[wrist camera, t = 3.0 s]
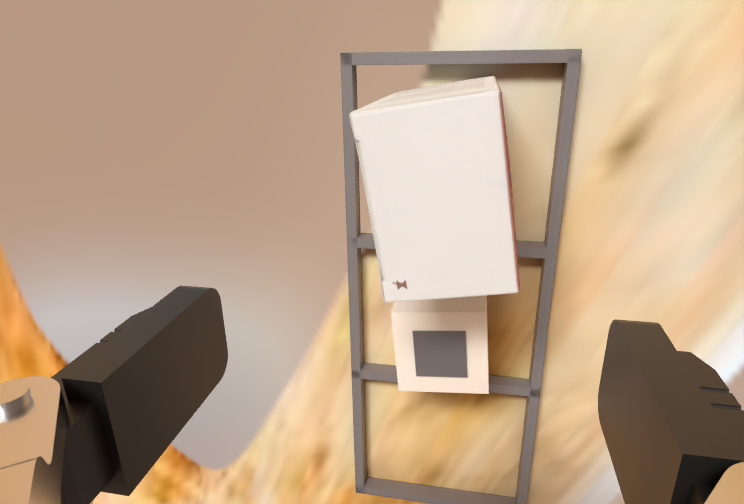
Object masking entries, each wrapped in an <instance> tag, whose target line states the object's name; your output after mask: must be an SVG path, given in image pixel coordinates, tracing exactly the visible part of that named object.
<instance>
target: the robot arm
mask: <svg viewBox="0 0 744 504" xmlns="http://www.w3.org/2000/svg"><path fill="white" fill-rule="evenodd" d="M227 359H228V350H227V342H226V335H225V328H224V320H223V313H222V305H221V299H220V295H219V293H218V291H217V290H216V289H214V288H205V287H192V286H191V287H190V286H179V287H177V288H176V289H175V290H173V291H172V292H171V293H169V294H168V295H167V296H165V297H164V298H163V299H162V300H160V301H159V302H158V303H157V304H155V305H154V306H153V307H151V308H149V309H146V310H144V311H142V312H140V313H138V314H135V315H133V316H131V317H130V318H129V319H127V320H126V321H125V322H123V323H122V324H121V325H119V326H118V327H117V328H115V331H114V332H110V333H109V334H108V335H106V336H105V337H104V338H102V339H101V340H100V343H96V344H95V345H93V346H92V347H91V348H89V349H88V350H87V351H85V352H84V353H83V354H82V355H80V356H79V357H77V358H76V359H75V360H74V361H72V362H71V363H70V364H68V365H67V366H66V367H64V368H63V369H62V370H60V371H59V372H58V373H57V374H55V375H54V376H53V377H51V378H49V377H42V376H32V377H24V378H19V379H14V380H11V381H7V382H4V383H1V384H0V504H93V502H92V501H93V500H94V498H95V497H96V496H97V495H98V494H99V493H100V492H107V493H114V494H120V495H126V496H129V495H130V494H131V493H132V491H133V490H134V489H135V488H136V486H137V485H138V484H139V483H140V481H141V480H142V479H143V478H144V476H145V475H146V474H147V473H148V471H149V470H150V469H151V467H152V466H153V465H154V464H155V462H156V461H157V460H158V459H159V457H160V456H161V455H162V454H163V452H164V451H165V450H166V449H167V447H168V446H169V445H170V443H171V442H172V441H173V440H174V438H175V437H176V436H177V435H178V433H179V432H180V431H181V430H182V428H183V427H184V426H185V424H186V423H187V422H188V420H189V419H190V418H191V417H192V416H193V414H194V413H195V412H196V411H197V409H198V408H199V407H200V406H201V404H202V403H203V402H204V400H205V399H206V398H207V397H208V395H209V394H210V393H211V392H212V390H213V389H214V388H215V387H216V385H217V384H218V383H219V381H220V380H221V378H222V377H223V375H224V372H225V369H226V365H227ZM598 412H599V420H600V424H601V427H602V431H603V434H604V437H605V440H606V444H607V447H608V450H609V453H610V456H611V460H612V463H613V466H614V469H615V473H616V476H617V479H618V482H619V486H620V489H621V492H622V495H623V499H624V502H625V504H744V411H742V410H741V405H740V404H739V403H738V401H737V400H736V398H735V397H734V396H733V394H732V393H729V389H728V387H727V386H726V385H725V383H724V382H723V380H722V379H721V378H720V376H719V375H718V373H717V372H716V371H715V369H713V368H712V367H710V366H709V365H708V364H706V363H705V362H703V361H702V360H701V359H699V358H698V357H696V356H695V355H694V354H692V353H691V352H683V351H677V350H676V349H675V347H674V346H673V344H672V343H671V341H670V339H669V338H668V336H667V335H666V333H665V332H664V330H663V328H662V327H661V325H660V324H658V323H653V322H640V321H627V320H613V321H612V323H611V326H610V329H609V333H608V339H607V345H606V351H605V357H604V362H603V368H602V374H601V380H600V386H599V393H598Z"/></svg>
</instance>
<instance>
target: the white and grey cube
mask: <svg viewBox="0 0 744 504" xmlns="http://www.w3.org/2000/svg"><path fill="white" fill-rule="evenodd" d="M391 319H392V329H393V339H394V349H395V359H396V369H397V379H398V389H399V391H419V392H448V393H476V394H489V376H488V325H487V296H473V297H458V298H445V299H431V300H417V301H402V302H394V305H393V308H392V310H391Z"/></svg>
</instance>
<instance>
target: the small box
mask: <svg viewBox="0 0 744 504" xmlns="http://www.w3.org/2000/svg"><path fill="white" fill-rule="evenodd" d="M349 118H350V123H351V127H352V131H353V135H354V139H355V144H356V148H357V153H358V157H359V162H360V167H361V172H362V178H363V183H364V189H365V194H366V199H367V204H368V209H369V215H370V220H371V226H372V231H373V237H374V243H375V248H376V254H377V260H378V266H379V272H380V281H381V289H382V296H383V301H384V302H385V303H389V302H402V301H417V300H431V299H445V298H458V297H473V296H487V295H499V294H509V293H518V292H519V291H520V285H519V273H518V260H517V247H516V235H515V222H514V208H513V196H512V185H511V174H510V164H509V155H508V146H507V137H506V128H505V119H504V111H503V103H502V93H501V89H500V87H499V85H498V83H497V80H496V78H495V76H488V77H481V78H475V79H468V80H462V81H456V82H450V83H445V84H439V85H433V86H428V87H423V88H417V89H412V90H407V91H401V92H396V93H394V94H392V95H389V96H387V97H384V98H382V99H380V100H377V101H375V102H373V103H371V104H368V105H366V106H364V107H362V108H359V109H357V110H354V111H352V112H351V113H350V114H349Z"/></svg>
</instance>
